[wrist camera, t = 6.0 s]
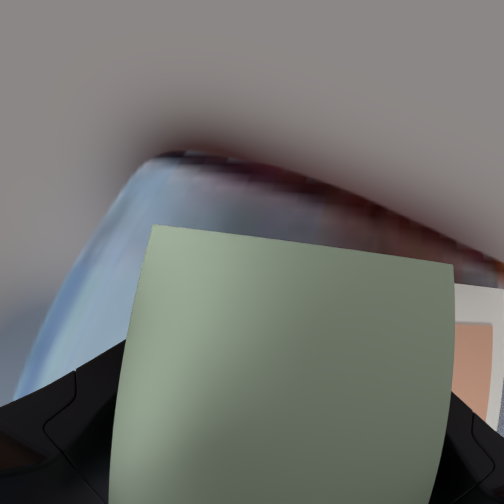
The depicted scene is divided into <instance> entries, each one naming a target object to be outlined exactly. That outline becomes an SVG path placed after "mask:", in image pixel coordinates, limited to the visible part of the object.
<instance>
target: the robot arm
mask: <svg viewBox="0 0 504 504" xmlns="http://www.w3.org/2000/svg"><path fill="white" fill-rule="evenodd" d="M125 343H126V339H125V340H124V341H122V342H120V343H119V344H117V345H115V346H114V347H112V348H110V349H109V350H107V351H105V352H104V353H102V354H100V355H99V356H97V357H95V358H94V359H92V360H90V361H89V362H87V363H85V364H84V365H82V366H80V367H79V368H77V369H76V372H75V371H72V372H70V373H68V374H67V375H65V376H63V377H62V378H60V379H58V380H56V381H54V382H53V383H51V384H49V385H47V386H45V387H43V388H41V389H39V390H37V391H35V392H33V393H31V394H29V395H27V396H24V397H22V398H20V399H18V400H15V401H13V402H11V403H9V404H6V405H4V406H2V407H0V504H108V502H109V476H110V460H111V447H112V436H113V426H114V417H115V409H116V401H117V394H118V386H119V380H120V373H121V367H122V361H123V355H124V349H125ZM428 504H504V438H503V437H502V436H501V435H500V434H498V433H497V432H496V431H495V430H494V429H492V428H491V427H490V426H489V425H488V424H487V423H486V422H485V421H484V420H482V419H481V418H480V417H479V416H478V415H477V414H476V413H475V412H473V410H472V409H471V408H470V407H468V406H467V405H466V404H465V403H464V402H463V401H462V400H461V399H460V398H459V397H458V396H457V395H455V394H454V393H453V392H452V391H451V398H450V406H449V413H448V420H447V426H446V432H445V437H444V443H443V448H442V453H441V457H440V462H439V466H438V470H437V474H436V478H435V482H434V486H433V489H432V493H431V496H430V500H429V503H428Z"/></svg>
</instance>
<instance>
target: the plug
mask: <svg viewBox="0 0 504 504" xmlns="http://www.w3.org/2000/svg"><path fill="white" fill-rule="evenodd" d="M454 348H455V288H454V270H453V265H452V264H446V263H439V262H433V261H426V260H420V259H413V258H406V257H399V256H392V255H385V254H379V253H372V252H364V251H357V250H350V249H343V248H336V247H329V246H321V245H314V244H307V243H299V242H292V241H284V240H276V239H269V238H261V237H253V236H245V235H237V234H229V233H221V232H213V231H205V230H197V229H189V228H180V227H172V226H164V225H155V224H153V227H152V230H151V234H150V237H149V241H148V245H147V249H146V253H145V256H144V260H143V264H142V268H141V273H140V277H139V281H138V285H137V290H136V294H135V299H134V303H133V308H132V313H131V317H130V322H129V327H128V333H127V338H126V343H125V349H124V355H123V361H122V367H121V373H120V380H119V386H118V394H117V401H116V409H115V417H114V426H113V436H112V447H111V460H110V476H109V502H108V504H428V503H429V500H430V496H431V493H432V489H433V486H434V482H435V478H436V474H437V470H438V466H439V462H440V457H441V453H442V448H443V443H444V437H445V432H446V426H447V420H448V413H449V406H450V398H451V389H452V379H453V366H454Z"/></svg>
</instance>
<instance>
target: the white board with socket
mask: <svg viewBox="0 0 504 504" xmlns="http://www.w3.org/2000/svg"><path fill="white" fill-rule="evenodd" d="M454 288H455V348H454V366H453V379H452V389H451V391H452V392H453V393H454V394H455V395H457V396H458V397H459V398H460V399H461V400H462V401H463V402H464V403H465V404H466V405H467V406H468V407H470V408H471V409H472V410H473V412H475V413H476V414H477V415H478V416H479V417H480V418H481V419H482V420H484V421H485V422H486V423H487V424H488V425H489V426H490V427H491V428H492V429H494V430H495V431H496V432H497V426H498V420H499V413H500V406H501V398H502V389H503V378H504V289H497V288H489V287H481V286H473V285H465V284H456V283H454Z"/></svg>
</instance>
